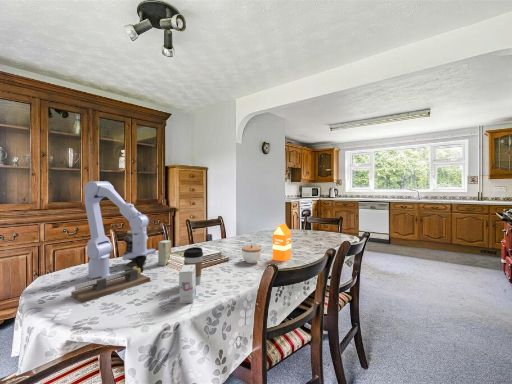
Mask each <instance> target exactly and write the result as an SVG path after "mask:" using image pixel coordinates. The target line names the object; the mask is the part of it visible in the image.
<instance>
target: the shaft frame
mask: <svg viewBox="0 0 512 384" xmlns="http://www.w3.org/2000/svg"><path fill="white" fill-rule="evenodd" d="M129 270H133V267H129V268H126V269H124V272H126V271H129ZM99 278H102V277H101V276H99V277H95V278H92V279H91V281H92V280H95V279H99ZM149 282H151V277H150V276H146V275H145V274H142V273H141V274H140V275H139V276H138V270H134V271H130V272H129V276H125V277H122V278H118V279H115V280H111V281H107V282H106V279H105V278H104V279H100V280H97V285H93V286H89V287H86V288H82V289H79V290H73V291H71V297H73V298H74V299H76V300H77V301H78V302H80V303H82V304H83V303H86V302H90V301H92V300H95V299H98V298H99V299H100V298H102V297H105V296H108V295H111V294H114V293H117V292H121V291H125V290H127V289H130V288H133V287H137V286H140V285H142V284H146V283H149Z"/></svg>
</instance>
